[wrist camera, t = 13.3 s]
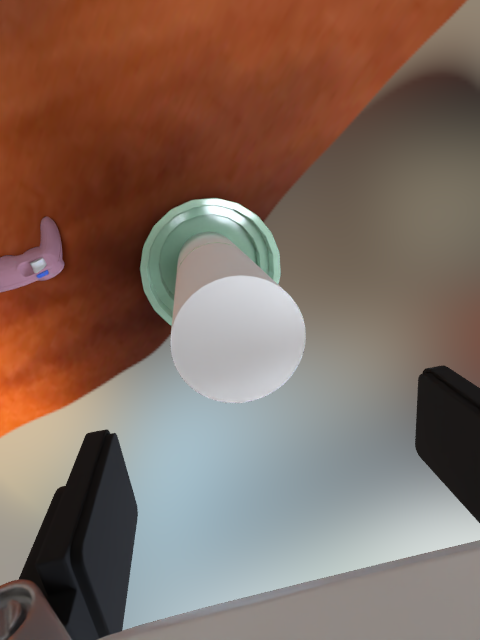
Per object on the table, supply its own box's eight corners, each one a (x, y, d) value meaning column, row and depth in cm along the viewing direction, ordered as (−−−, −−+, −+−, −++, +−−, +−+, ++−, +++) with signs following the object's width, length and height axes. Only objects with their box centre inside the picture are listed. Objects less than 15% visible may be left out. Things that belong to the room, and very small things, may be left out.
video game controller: (-12, 270, 42) (-28, 312, 37) (-41, 236, 38) (-63, 277, 34) (73, 246, 42) (69, 284, 37) (52, 210, 39) (44, 247, 34)
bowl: (137, 310, 44) (131, 325, 39) (156, 184, 40) (152, 182, 35) (253, 329, 47) (262, 346, 42) (282, 214, 43) (295, 216, 38)
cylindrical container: (185, 298, 44) (186, 415, 20) (171, 237, 41) (155, 290, 18) (244, 286, 44) (312, 387, 21) (234, 226, 42) (298, 263, 18)
